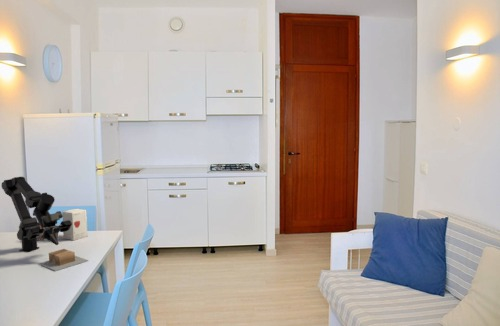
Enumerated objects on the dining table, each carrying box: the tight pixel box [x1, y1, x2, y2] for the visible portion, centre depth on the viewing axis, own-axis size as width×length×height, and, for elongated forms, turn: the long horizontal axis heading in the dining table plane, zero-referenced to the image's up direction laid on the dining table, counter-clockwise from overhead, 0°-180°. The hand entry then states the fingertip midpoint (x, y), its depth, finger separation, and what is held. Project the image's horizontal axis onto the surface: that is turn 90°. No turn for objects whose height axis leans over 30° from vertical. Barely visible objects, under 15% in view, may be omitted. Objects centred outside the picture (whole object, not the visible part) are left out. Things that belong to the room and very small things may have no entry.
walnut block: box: [48, 248, 76, 266], centre depth 177 cm, size 4×7×9 cm
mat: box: [40, 255, 89, 272], centre depth 176 cm, size 12×15×1 cm
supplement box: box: [61, 208, 88, 241], centre depth 216 cm, size 9×9×15 cm
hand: (57, 244), depth 179 cm, fingers closed
